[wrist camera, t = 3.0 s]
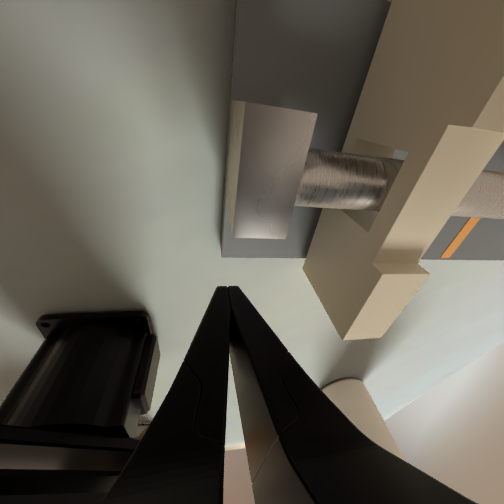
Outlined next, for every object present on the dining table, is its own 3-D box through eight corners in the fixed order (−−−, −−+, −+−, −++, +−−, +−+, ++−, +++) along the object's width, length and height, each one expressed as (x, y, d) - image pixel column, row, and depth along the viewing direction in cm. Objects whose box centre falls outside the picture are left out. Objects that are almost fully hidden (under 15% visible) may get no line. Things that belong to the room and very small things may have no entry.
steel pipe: (225, 199, 11) (232, 239, 8) (232, 100, 8) (245, 101, 5) (541, 220, 15) (622, 250, 12) (600, 159, 13) (716, 178, 10)
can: (360, 370, 27) (444, 520, 18) (363, 389, 31) (433, 520, 21) (311, 388, 28) (366, 542, 18) (320, 404, 32) (369, 538, 22)
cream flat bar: (302, 268, 14) (342, 340, 10) (401, -27, 7) (670, -199, 3) (331, 268, 14) (381, 337, 10) (451, -11, 7) (748, -141, 3)
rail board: (220, 247, 13) (221, 258, 13) (238, -28, 7) (242, -44, 6) (489, 252, 18) (504, 260, 17) (639, 87, 12) (672, 86, 11)
